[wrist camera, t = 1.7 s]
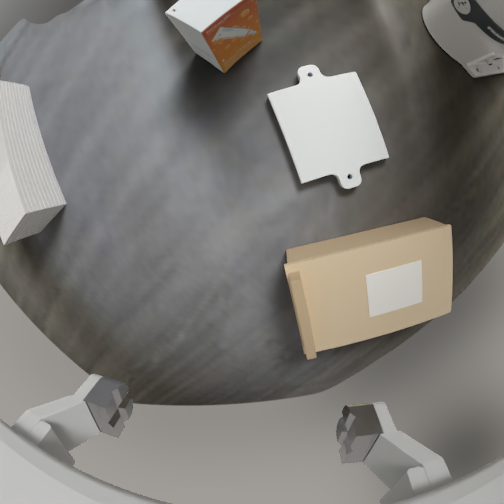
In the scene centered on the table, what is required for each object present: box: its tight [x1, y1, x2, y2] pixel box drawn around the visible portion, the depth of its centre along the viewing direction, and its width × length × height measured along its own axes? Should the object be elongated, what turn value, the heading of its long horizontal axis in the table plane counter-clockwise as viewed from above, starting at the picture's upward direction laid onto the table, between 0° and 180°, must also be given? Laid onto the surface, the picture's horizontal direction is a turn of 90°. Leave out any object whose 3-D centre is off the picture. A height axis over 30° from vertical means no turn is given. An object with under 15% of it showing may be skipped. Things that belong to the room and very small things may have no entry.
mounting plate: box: [267, 65, 389, 189], centre depth 33 cm, size 18×13×2 cm
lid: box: [284, 224, 453, 360], centre depth 30 cm, size 23×13×3 cm, turn 105°
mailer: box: [286, 217, 445, 263], centre depth 35 cm, size 22×13×6 cm, turn 105°
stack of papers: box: [0, 81, 66, 245], centre depth 33 cm, size 32×11×11 cm, turn 29°
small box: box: [165, 0, 262, 73], centre depth 25 cm, size 8×6×13 cm
